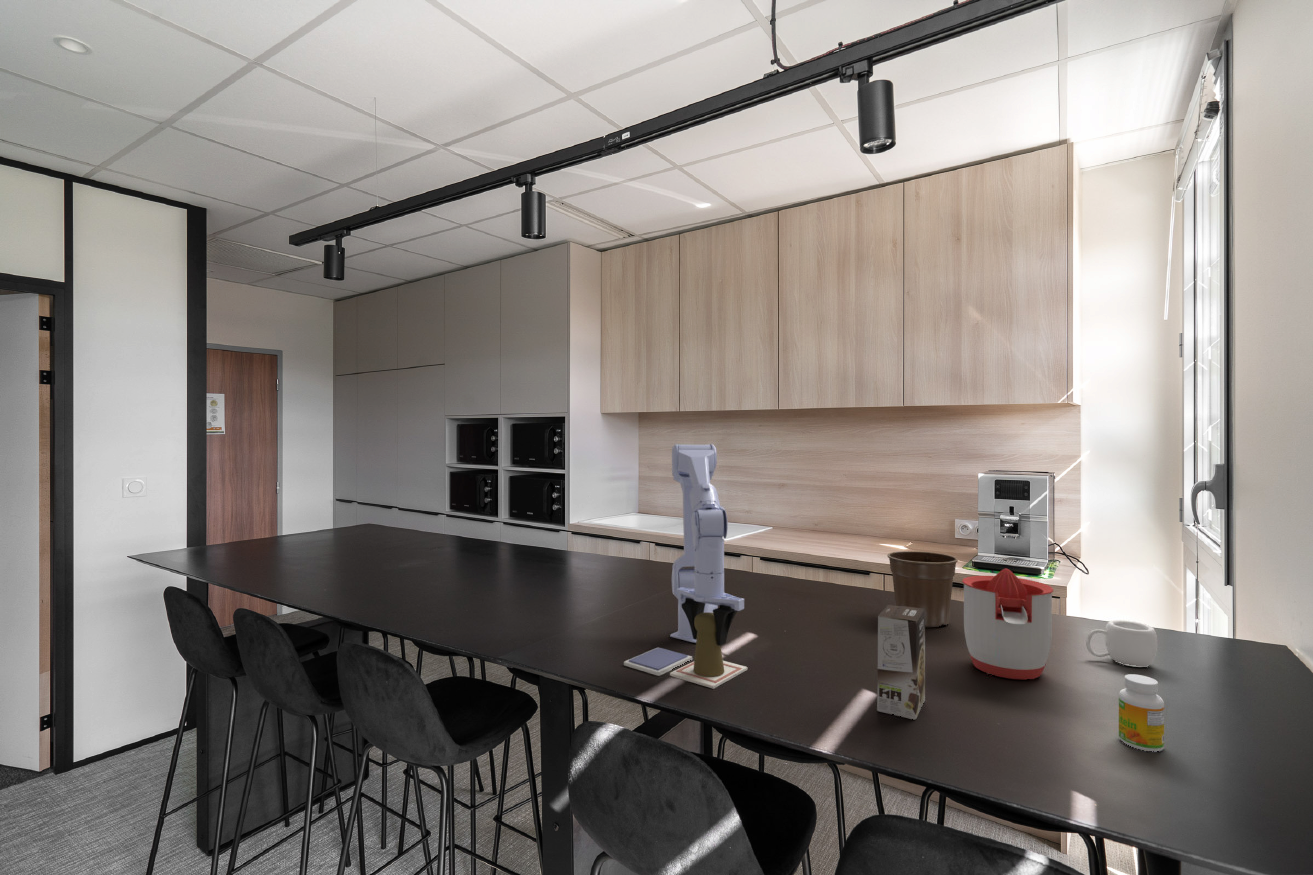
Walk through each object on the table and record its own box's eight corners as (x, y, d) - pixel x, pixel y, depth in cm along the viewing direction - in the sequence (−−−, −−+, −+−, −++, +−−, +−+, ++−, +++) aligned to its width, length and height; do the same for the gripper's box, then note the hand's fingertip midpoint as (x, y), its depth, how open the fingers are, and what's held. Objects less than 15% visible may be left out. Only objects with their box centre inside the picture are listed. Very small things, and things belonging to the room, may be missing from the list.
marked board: (705, 658, 129) (705, 655, 129) (747, 669, 123) (747, 666, 123) (669, 675, 120) (669, 672, 120) (713, 688, 114) (713, 685, 114)
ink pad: (658, 650, 134) (658, 645, 134) (692, 659, 128) (692, 655, 128) (623, 665, 125) (623, 660, 125) (658, 675, 120) (658, 670, 120)
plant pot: (881, 610, 165) (881, 549, 165) (945, 612, 163) (945, 551, 163) (895, 629, 149) (896, 561, 149) (967, 632, 147) (967, 563, 147)
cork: (722, 677, 117) (721, 618, 117) (691, 675, 118) (689, 617, 119) (726, 666, 123) (724, 609, 123) (695, 664, 124) (694, 609, 124)
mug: (1146, 659, 129) (1146, 621, 129) (1165, 673, 121) (1165, 633, 121) (1079, 652, 133) (1079, 615, 133) (1093, 666, 125) (1093, 627, 125)
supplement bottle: (1109, 736, 96) (1109, 672, 96) (1142, 734, 96) (1142, 671, 96) (1139, 753, 90) (1139, 686, 90) (1173, 752, 91) (1174, 685, 91)
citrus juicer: (968, 682, 117) (968, 575, 117) (958, 652, 133) (958, 558, 133) (1065, 694, 111) (1065, 582, 111) (1042, 661, 127) (1042, 563, 127)
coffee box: (917, 721, 101) (917, 621, 101) (875, 711, 104) (876, 615, 104) (926, 700, 108) (926, 607, 108) (887, 692, 112) (887, 602, 112)
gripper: (667, 569, 123) (667, 638, 123) (730, 579, 114) (730, 654, 114) (688, 563, 128) (688, 630, 128) (749, 573, 119) (749, 644, 119)
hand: (709, 641), depth 121 cm, fingers closed on cork, 5 cm apart
